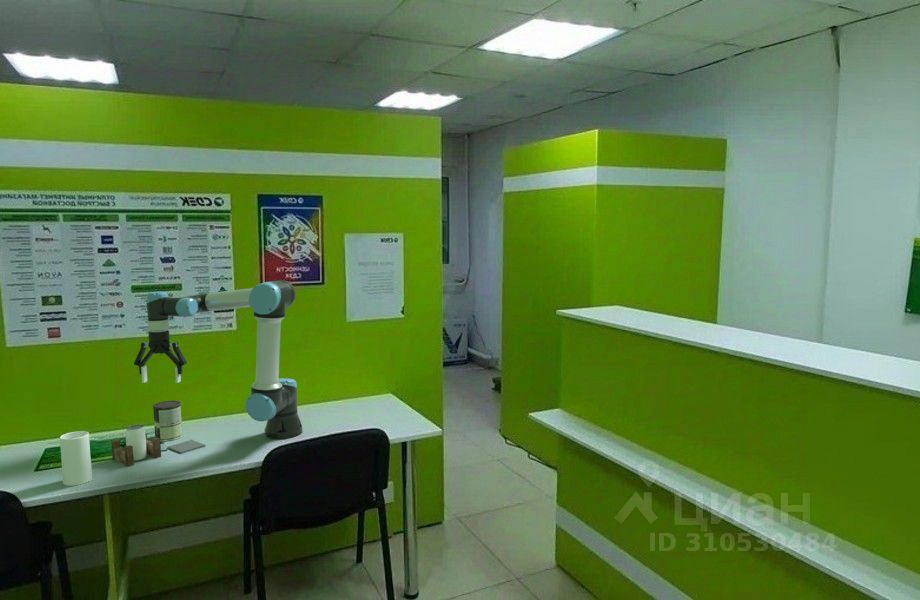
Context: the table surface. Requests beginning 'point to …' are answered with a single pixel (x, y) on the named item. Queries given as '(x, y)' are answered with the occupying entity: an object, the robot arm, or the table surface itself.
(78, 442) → the cup
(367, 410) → the table surface
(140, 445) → the can
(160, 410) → the coffee can
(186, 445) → the pad
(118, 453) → the brown cradle stand
